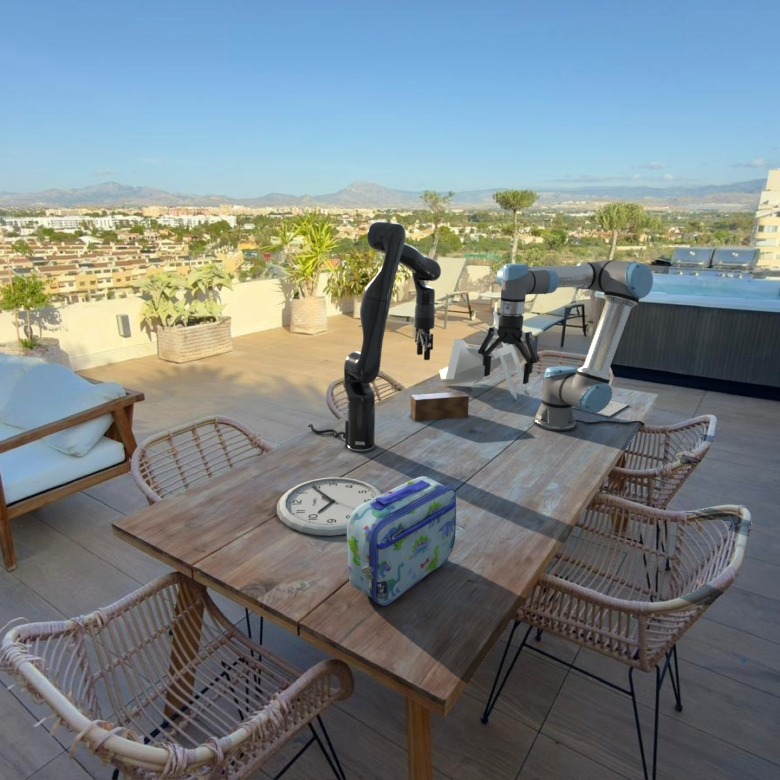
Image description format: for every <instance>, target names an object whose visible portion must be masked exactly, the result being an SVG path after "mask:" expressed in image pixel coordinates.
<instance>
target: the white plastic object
mask: <svg viewBox="0 0 780 780" xmlns="http://www.w3.org/2000/svg"><path fill="white" fill-rule="evenodd" d="M492 315H493V319H494V321H495V324H496V325H495V326H496V328H497V329H498V327H499V325H498V324H499V314H498V312H497V311H496V310H495V311H492ZM481 345H482V344H479V345H473V346H469V345H468V343H466V342H465V340H464V339H463V338H460V339H458V338H454V340H453V344H452V349H451V353H450V357H449V362H448V366H446V367H444V368H442V369H440V370H439V371H438V372H439V376H440V381H442V383H443V384H444V385H445V386H449V385H458V384H467V383H468V384H469V383H473V384H477V383H480V382H482V381H484V378H486V376H484V371H485V366H483V355H482V354H479V353H478V350H479V349H480V347H481ZM501 345H502V347H500V348H498V349H496V350H495V349H494V350H493V351H492V352H491V353H490V355H488V356H491V366H490V373H492V372H494V371H495V370H496V369H497V368H499V367H500V366H502V370H503V373H504V376H505V380H506V383H507V386H508V390H509V393H510V394H511V395H512V397H513V398H514V399H515V400H517V392H516V391H517V390H516V388H515V385H514V381H513V378H512V375H511V371H510V369H509V365H508V361H510V360H513V363H514V366H515V369H516V372H517V376H518V380H519V382H520V385H521V389H522V391H523V393H524V395H525V396H526V397H528V396H531V395H530V390H529V388H528V387H529V386H528V383H526V384H523V377H524V370H523V369H522V368H523V367H522V366H521V362H520V359H519V355H518V352H517V349H516V347H515V345H514V344H508V343H503V342H501ZM490 346H491V345H490V344H489V345H488V346H487V348H486V350H487V349H488V348H489V347H490ZM486 350H485V351H486Z"/></svg>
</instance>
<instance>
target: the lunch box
mask: <svg viewBox="0 0 780 780" xmlns="http://www.w3.org/2000/svg"><path fill="white" fill-rule="evenodd" d="M456 524H457V494H456V490H455V488H454V487H453V486H451V485H444V484H441V483H440V482H438V481H436V480H434V479H432V478H431V477H428V476H422V475H421V476H419V477H416V478H413V479H411V480H408V481H407V482H404V483H402V484H400V485H398V486H396V487H394V488H392V489H390V490H388V491H386V492H383V494H381V495H380V496H378V497H376V498H374V499H372V500H370V501H368V502H365V503H363V504H362V505H360V506H358V507H357V508H356V509H355V510H354V511H353V513H352V514H351V516H350V518H349V521H348V525H347V534H346V545H347V546H346V548H347V570H348V572H347V573H348V581H349V583H350V585H351V587H353V588H354V589H356V590H358V591H361V592H362V593H364V594H365V595H366V596H368V597H369V598H371V599H372V601H373V602H374V603H375V604H378V605H379V606H383V607H386V606H388V605H390V604H392V603H394V601H396V600H397V599H398V598H399V597H400V596H402V595H403V594H404V593H406V592H407V591H408V590H410V589H411V588H413V587H414V586H415V585H417V584H418V583H419V582H421V580H422V579H424V577H426V576H427V575H430V573H432V572H434V571H435V570H436V569H438V568H440V567H441V566H442V565H444V563H446V562H447V561H448V559H449V558H450V556H451V554H452V552H453V549H454V546H455V542H456V529H457V525H456Z"/></svg>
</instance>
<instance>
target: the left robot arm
mask: <svg viewBox="0 0 780 780" xmlns="http://www.w3.org/2000/svg"><path fill="white" fill-rule="evenodd" d="M406 235H407V234H406V228H405V227H404V225H403V224H401V223H397V222H389V221H383V220H382V221H381V220H380V221H374V222H373V223H371V224H370V225H369V227H368V229H367V233H366V241H367V244H368V246H369V247H370V248H371V249H372V250H374V251H375V252H379V253H382V254H384V257H383V260H382V263H381V266H380V267H379V269H378V271H377V272H376V274H375V275H374V276H373V277H372V278H371V280H370V281H369V282H368V284H367V285H366V286H365V288H364V289H363V291H362V297H361V302H360V308H359V318H360V325H361V331H362V345H361V349H360V351H357V350H356V351H353V352H351V353H349V354H348V355H347V356H346V359H345V360H344V364H343V365H344V367H343V373H344V374H343V377H344V391H345V394H346V396H347V419H346V420H345V421H344V429H345V430H344V431H337V430H336V429H333V428H331V429H329V428H328V429H323V430H317V429H315V428H314V425H313V424H312V423H309V424H308V425H307V427H308V428H310V430H311V431H312V432H313V433H315V434H325V433H333V435H334V437H339V436H340V435H342V439H344V442H345V444H344V445H345V447H346V448H347V449H348V450H350V451H352V452H356V453H363V452H364V453H365V452H369V451H372V450H374V449H375V447H376V446H375V445H376V444H375V443H376V442H375V438H376V437H375V436H376V435H375V433H376V432H375V430H376V427H375V426H376V395H375V394H376V392H375V391H374V389H373V388H372V387H371V384H372V383H373V382H374V381H375V380H376V379H377V377H378V375H379V373H380V369H381V363H382V361H381V360H382V353H383V351H382V350H383V343H384V337H385V333H386V332H385V331H386V326H387V320H388V316H389V311H390V308H391V307H390V306H391V302H392V295H393V291H394V287H395V281H396V276H397V272H398V268H399V265H400V264H401V265H402V266H404V267H405V268H406V270H409V271H410V272H411V275H412V281H413V284H414V289H415V307H414V323H413V325H414V328H415V329H414V330H415V332H414V333H415V334H414V342H415V344H416V355H418V356H421V355H423V360H424V361H430V360H431V351H432V350H434V334H433V333H431V330H433V329H434V328H435V317H436V316H435V315H436V307H435V305H436V304H435V303H436V302H435V300H436V290H435V289H434V288H433V287H431V286H428V285H427V284H426V281H427V282H435V281H437V280H438V279H439V278H441V274H442V268H441V265H440V264H439V263H438V261H436V260H434V258H433V259H432V258H430V257H428V256H425V255H423V254H422V253H421V252H420V251H419V250H418V249H417V248H415V247H413V246H411V245H409V244H408V243H406V237H407V236H406Z"/></svg>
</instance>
